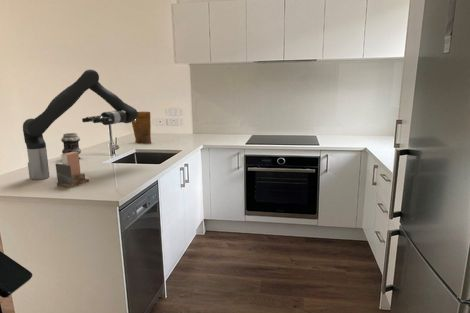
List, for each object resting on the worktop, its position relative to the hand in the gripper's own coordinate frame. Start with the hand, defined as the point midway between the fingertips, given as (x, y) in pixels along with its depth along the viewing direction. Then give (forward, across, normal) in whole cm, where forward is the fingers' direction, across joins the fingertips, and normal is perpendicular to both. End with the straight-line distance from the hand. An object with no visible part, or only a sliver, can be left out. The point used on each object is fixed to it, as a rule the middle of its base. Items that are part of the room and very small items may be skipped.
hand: (88, 120), depth 185 cm
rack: (+14, +1, +32) cm, 35 cm away
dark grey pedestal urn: (-26, -49, +32) cm, 64 cm away
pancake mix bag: (-97, -47, +32) cm, 112 cm away
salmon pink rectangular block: (+14, +1, +30) cm, 34 cm away
